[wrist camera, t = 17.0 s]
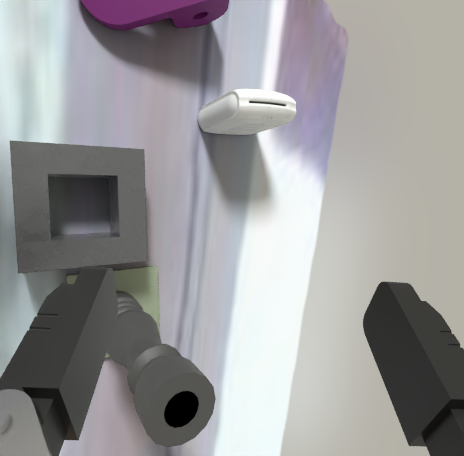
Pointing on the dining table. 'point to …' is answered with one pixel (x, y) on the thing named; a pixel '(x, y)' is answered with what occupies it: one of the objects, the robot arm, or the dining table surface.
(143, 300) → the mat
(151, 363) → the candle holder
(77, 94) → the dining table surface
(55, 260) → the socket block
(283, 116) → the photo printer
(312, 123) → the dining table surface
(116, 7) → the mounting bracket
